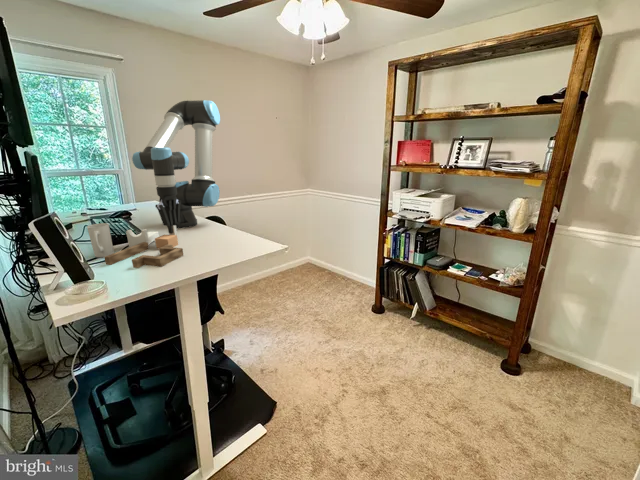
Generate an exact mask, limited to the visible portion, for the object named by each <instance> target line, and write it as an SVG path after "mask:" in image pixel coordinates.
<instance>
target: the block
mask: <svg viewBox="0 0 640 480" xmlns="http://www.w3.org/2000/svg"><path fill="white" fill-rule="evenodd" d="M177 236H178V234H177V235H170V234H162V235H159V237H157V238H155V240H154V242H155V246H156V247H155V248H156V249H157V250H159V248H161V247H163V246H165V245H168V244H171V245H173V247H174V248H176V247H177V246H179V238H178V239H177Z"/></svg>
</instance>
